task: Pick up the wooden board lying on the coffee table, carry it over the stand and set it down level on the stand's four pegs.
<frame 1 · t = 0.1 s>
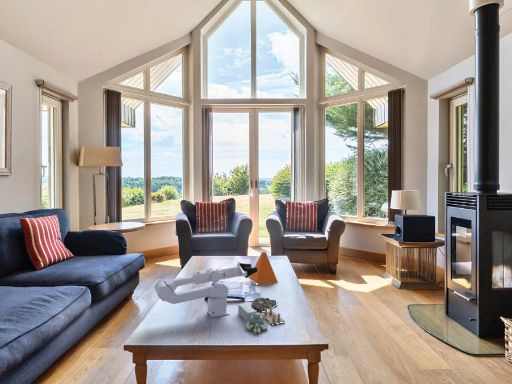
hand: (254, 267, 176), 22 cm above the table, tool horizontal, fingers open, 7 cm apart
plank: (246, 317, 164), on the table
pyramid: (263, 281, 224), on the table
stuffed animal: (256, 329, 152), on the table
geode: (264, 306, 180), on the table
peg stand: (272, 319, 162), on the table
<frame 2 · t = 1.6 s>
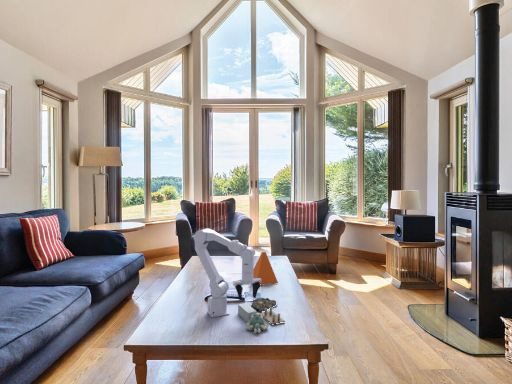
hand: (247, 298, 164), 9 cm above the table, tool pointing down, fingers open, 7 cm apart
nothing on the table moved.
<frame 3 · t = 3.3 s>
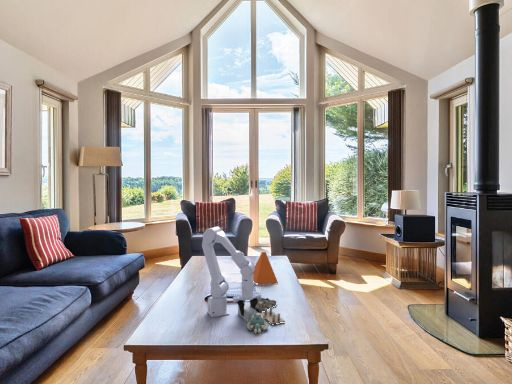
hand: (247, 314, 164), 1 cm above the table, tool pointing down, fingers closed on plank, 5 cm apart
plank: (246, 317, 164), on the table, touching gripper
everything else where it was.
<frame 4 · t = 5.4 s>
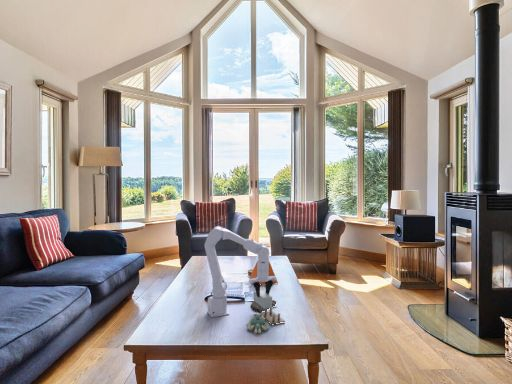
hand: (262, 295, 167), 10 cm above the table, tool pointing down, fingers closed on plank, 4 cm apart
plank: (262, 303, 167), point 6 cm above the table, touching gripper
everything else where it was.
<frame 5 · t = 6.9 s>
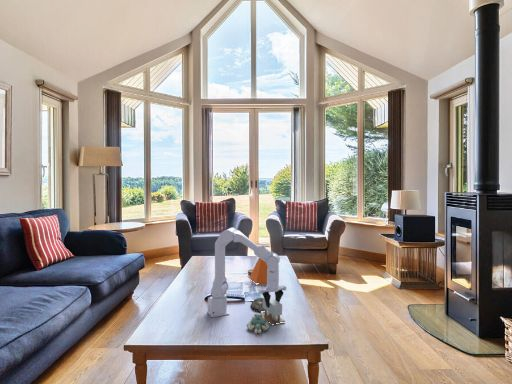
hand: (272, 306, 162), 6 cm above the table, tool pointing down, fingers closed on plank, 4 cm apart
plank: (272, 310, 162), point 4 cm above the table, touching gripper, peg stand
everything else where it was.
when the fingers open (6 cm above the table, at t = 7.7 s): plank stays where it is, resting on peg stand.
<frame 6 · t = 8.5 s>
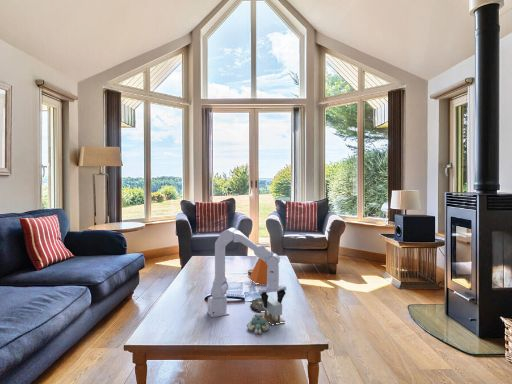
hand: (272, 306, 162), 6 cm above the table, tool pointing down, fingers open, 7 cm apart
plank: (272, 310, 162), point 4 cm above the table, touching peg stand
everything else where it was.
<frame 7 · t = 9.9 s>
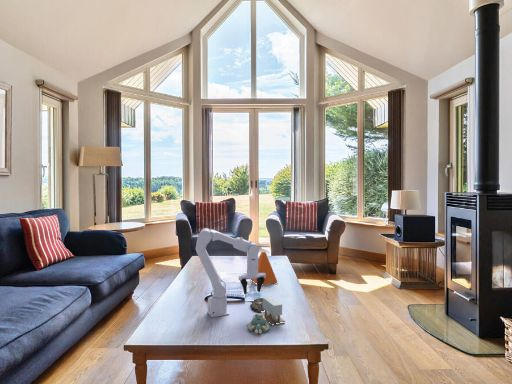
hand: (251, 292, 170), 10 cm above the table, tool pointing down, fingers open, 7 cm apart
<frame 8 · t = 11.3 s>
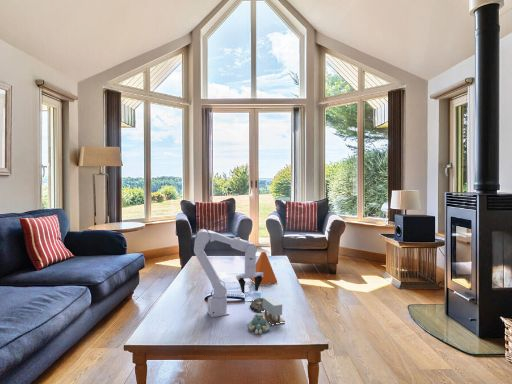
hand: (249, 291, 171), 10 cm above the table, tool pointing down, fingers open, 7 cm apart
at the end: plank 0.2 cm off-centre on the peg stand, point 4.0 cm above the peg stand's base; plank tilted 0°; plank touching peg stand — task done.
